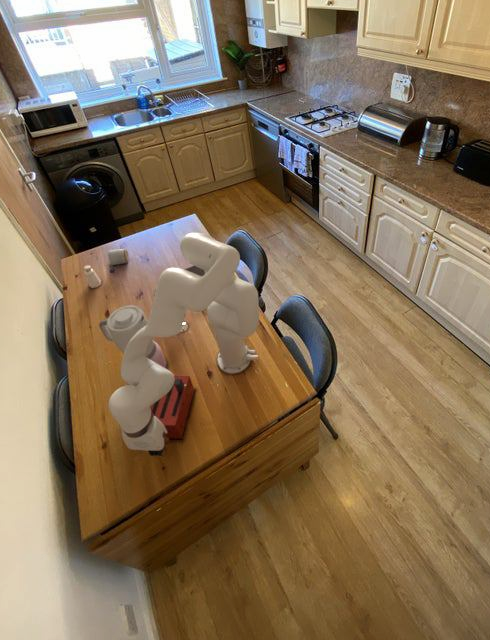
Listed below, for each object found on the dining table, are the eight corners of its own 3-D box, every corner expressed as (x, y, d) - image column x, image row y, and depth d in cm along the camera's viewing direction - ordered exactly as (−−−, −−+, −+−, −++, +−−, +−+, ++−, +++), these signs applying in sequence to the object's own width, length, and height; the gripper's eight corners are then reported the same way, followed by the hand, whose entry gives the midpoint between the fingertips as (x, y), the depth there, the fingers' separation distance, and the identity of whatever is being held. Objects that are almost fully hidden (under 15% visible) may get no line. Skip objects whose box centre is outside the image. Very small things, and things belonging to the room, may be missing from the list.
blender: (172, 356, 131) (149, 300, 112) (162, 387, 122) (135, 331, 102) (131, 356, 132) (102, 300, 112) (118, 386, 123) (84, 330, 103)
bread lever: (168, 434, 105) (167, 432, 104) (162, 456, 100) (161, 454, 99) (156, 434, 105) (155, 432, 104) (149, 455, 100) (148, 453, 100)
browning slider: (184, 386, 111) (181, 378, 108) (182, 391, 110) (179, 384, 107) (179, 385, 111) (176, 378, 108) (177, 391, 110) (174, 384, 107)
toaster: (195, 390, 121) (189, 374, 114) (182, 440, 108) (175, 426, 102) (166, 389, 121) (159, 373, 115) (150, 439, 108) (141, 424, 102)
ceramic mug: (129, 264, 174) (124, 253, 169) (112, 268, 172) (106, 256, 167) (130, 252, 182) (125, 240, 177) (113, 255, 180) (108, 244, 175)
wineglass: (192, 326, 142) (186, 307, 135) (180, 335, 139) (173, 316, 132) (184, 319, 145) (178, 300, 138) (172, 327, 142) (165, 308, 135)
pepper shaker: (102, 285, 163) (94, 268, 156) (90, 289, 161) (81, 272, 154) (100, 278, 167) (91, 261, 160) (88, 283, 164) (79, 266, 157)
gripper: (103, 435, 86) (125, 463, 98) (161, 437, 86) (177, 465, 97) (116, 405, 92) (135, 435, 104) (170, 407, 92) (184, 437, 103)
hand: (155, 450), depth 100 cm, fingers closed
